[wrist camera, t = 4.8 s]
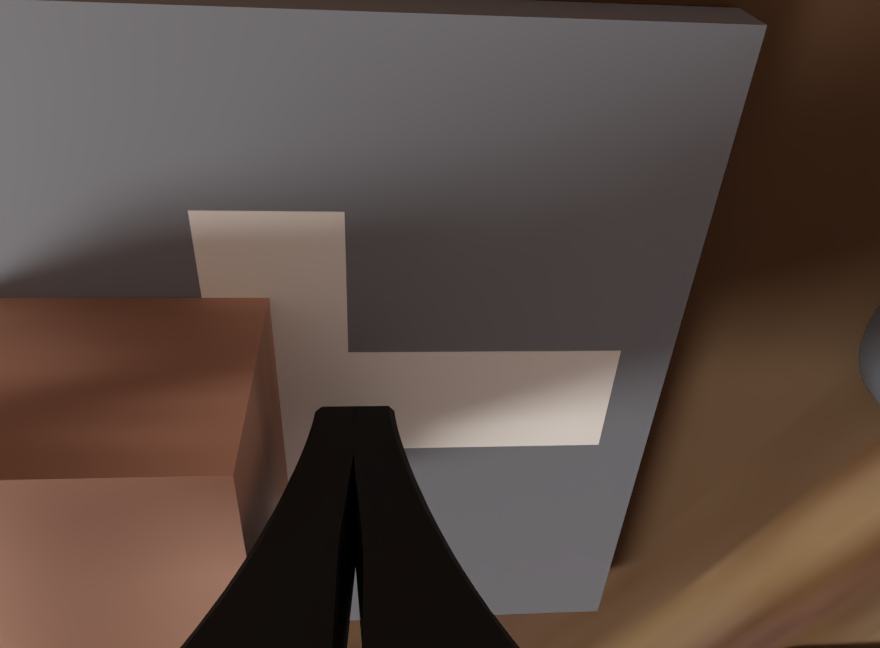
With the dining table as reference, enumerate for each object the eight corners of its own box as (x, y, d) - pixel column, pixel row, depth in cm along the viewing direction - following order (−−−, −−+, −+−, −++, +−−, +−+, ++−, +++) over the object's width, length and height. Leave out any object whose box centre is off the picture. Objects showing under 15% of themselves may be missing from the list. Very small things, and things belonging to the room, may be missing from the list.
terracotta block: (268, 297, 13) (233, 476, 9) (289, 499, 16) (268, 688, 12) (-44, 298, 12) (-195, 484, 9) (37, 505, 15) (-54, 702, 12)
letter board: (739, 7, 11) (768, 25, 11) (587, 576, 20) (597, 611, 19) (-586, -41, 10) (-675, -24, 9) (-152, 602, 18) (-177, 641, 17)
